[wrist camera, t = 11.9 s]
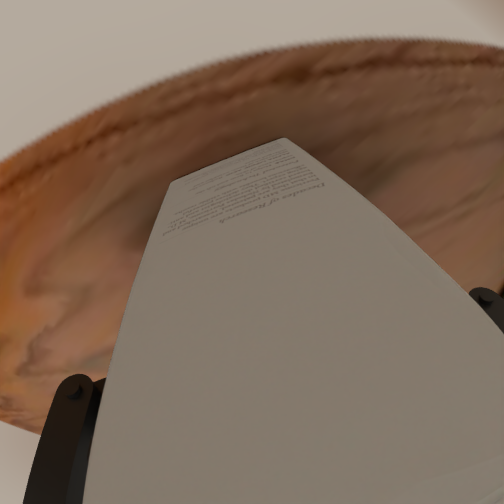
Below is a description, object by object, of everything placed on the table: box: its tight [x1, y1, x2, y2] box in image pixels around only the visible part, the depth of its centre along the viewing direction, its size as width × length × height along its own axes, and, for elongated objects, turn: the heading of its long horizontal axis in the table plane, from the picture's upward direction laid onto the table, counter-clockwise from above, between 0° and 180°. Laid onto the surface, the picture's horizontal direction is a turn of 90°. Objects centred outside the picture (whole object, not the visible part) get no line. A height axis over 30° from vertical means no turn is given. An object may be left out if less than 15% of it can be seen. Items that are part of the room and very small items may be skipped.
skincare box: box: [83, 138, 504, 504], centre depth 10 cm, size 8×6×15 cm
